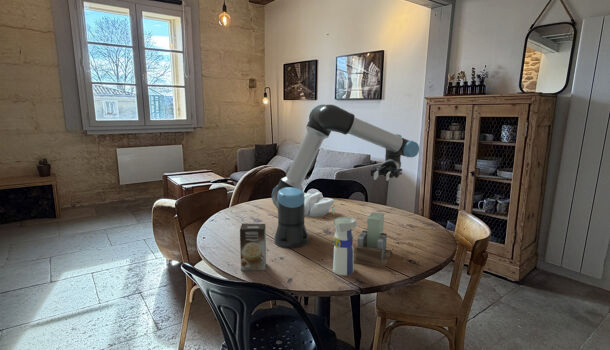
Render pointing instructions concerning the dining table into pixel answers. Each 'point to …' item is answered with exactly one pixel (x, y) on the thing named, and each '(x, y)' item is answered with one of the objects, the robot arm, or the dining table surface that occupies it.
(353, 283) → the dining table surface
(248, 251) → the food box
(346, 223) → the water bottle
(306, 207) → the wavy white extrusion
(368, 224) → the sage block
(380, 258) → the band guide
